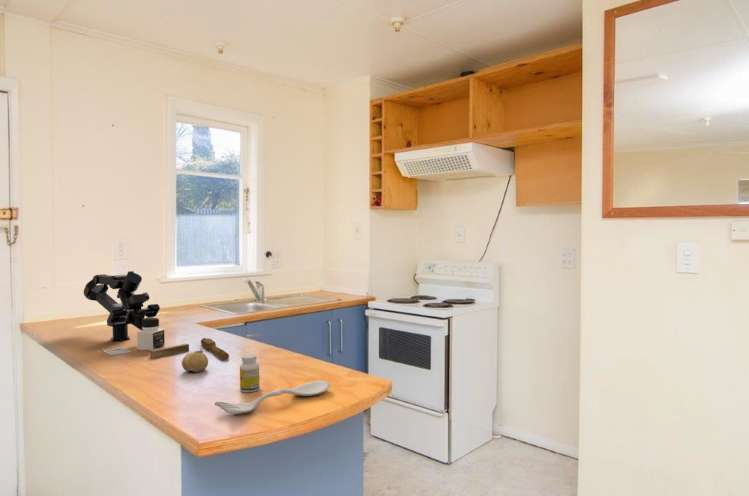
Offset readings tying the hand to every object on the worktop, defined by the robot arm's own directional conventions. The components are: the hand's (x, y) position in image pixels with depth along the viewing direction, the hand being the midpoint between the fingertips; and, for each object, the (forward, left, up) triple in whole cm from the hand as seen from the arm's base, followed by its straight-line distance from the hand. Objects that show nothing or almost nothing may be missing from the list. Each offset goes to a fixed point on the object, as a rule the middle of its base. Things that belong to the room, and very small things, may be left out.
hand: (142, 329), depth 197 cm
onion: (+49, +8, -7) cm, 50 cm away
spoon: (+92, +19, -7) cm, 94 cm away
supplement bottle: (+78, +16, -7) cm, 80 cm away
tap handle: (+26, +21, -7) cm, 34 cm away
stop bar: (+20, +6, -7) cm, 22 cm away
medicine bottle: (+7, +2, -7) cm, 10 cm away
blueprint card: (+5, -10, -7) cm, 13 cm away
